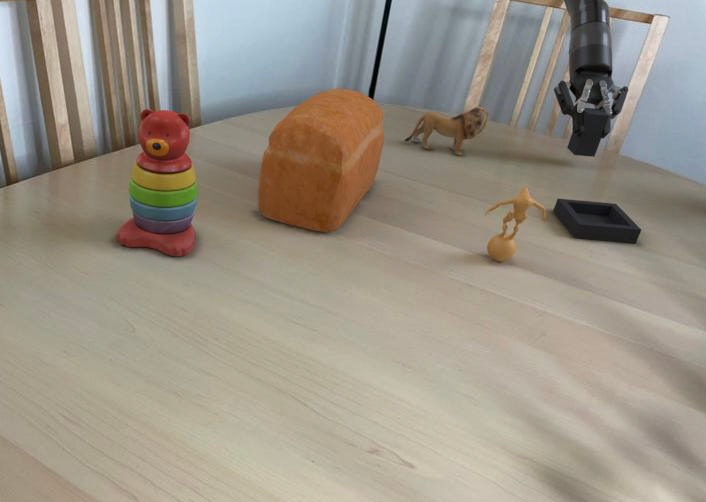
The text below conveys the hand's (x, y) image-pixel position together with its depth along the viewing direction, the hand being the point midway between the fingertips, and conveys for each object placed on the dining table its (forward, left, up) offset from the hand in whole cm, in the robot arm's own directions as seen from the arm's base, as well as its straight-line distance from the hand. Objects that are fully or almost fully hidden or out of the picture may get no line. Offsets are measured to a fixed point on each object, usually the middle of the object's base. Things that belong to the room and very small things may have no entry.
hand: (591, 135), depth 141 cm
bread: (+53, +26, -7) cm, 60 cm away
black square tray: (+8, +28, -7) cm, 30 cm away
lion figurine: (+26, -4, -7) cm, 27 cm away
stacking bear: (+77, +45, -7) cm, 90 cm away
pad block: (0, -2, -4) cm, 5 cm away
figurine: (+28, +44, -7) cm, 53 cm away
